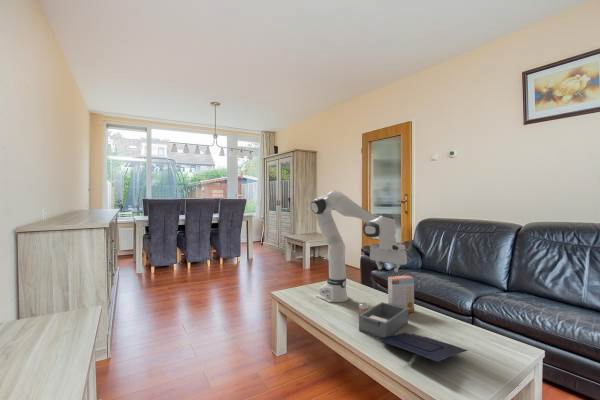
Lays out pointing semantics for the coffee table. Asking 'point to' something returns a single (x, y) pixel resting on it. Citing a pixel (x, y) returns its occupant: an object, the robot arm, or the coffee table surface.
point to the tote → (381, 329)
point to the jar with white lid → (363, 307)
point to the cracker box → (401, 291)
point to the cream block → (378, 318)
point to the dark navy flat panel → (423, 346)
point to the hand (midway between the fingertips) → (387, 270)
